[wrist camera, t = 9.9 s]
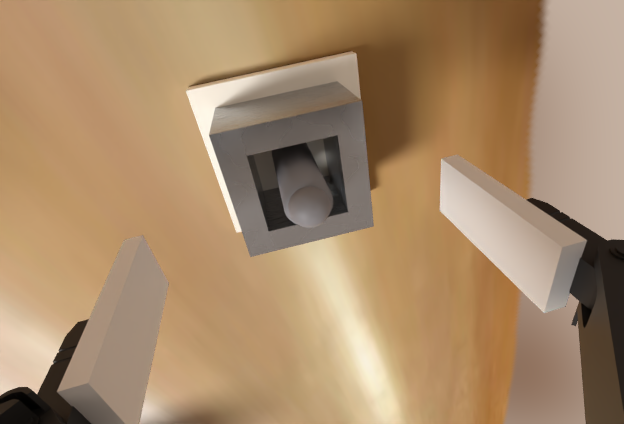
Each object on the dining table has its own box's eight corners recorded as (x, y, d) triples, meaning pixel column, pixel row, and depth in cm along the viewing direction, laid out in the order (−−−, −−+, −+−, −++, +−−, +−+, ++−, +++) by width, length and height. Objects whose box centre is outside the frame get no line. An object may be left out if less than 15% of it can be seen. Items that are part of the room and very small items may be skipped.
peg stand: (236, 225, 26) (235, 320, 18) (187, 87, 20) (157, 137, 13) (366, 193, 26) (419, 272, 19) (351, 51, 21) (417, 78, 13)
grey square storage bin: (248, 213, 24) (250, 256, 20) (215, 108, 20) (208, 135, 16) (350, 188, 25) (373, 226, 21) (337, 81, 21) (362, 100, 17)
